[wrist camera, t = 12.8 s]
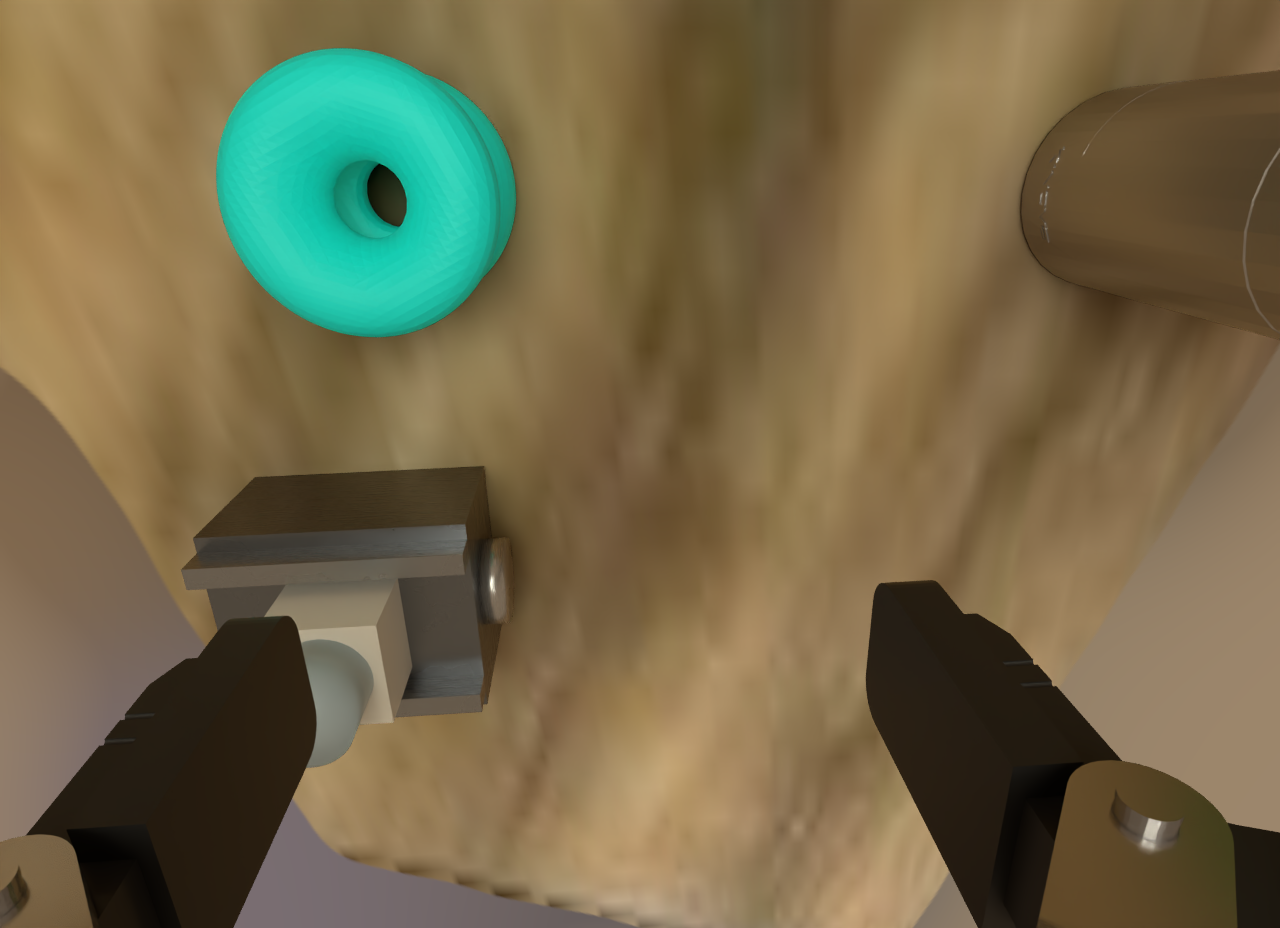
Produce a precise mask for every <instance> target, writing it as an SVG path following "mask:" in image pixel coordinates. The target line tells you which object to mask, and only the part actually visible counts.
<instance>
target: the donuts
mask: <svg viewBox="0 0 1280 928" xmlns="http://www.w3.org/2000/svg"><path fill="white" fill-rule="evenodd" d="M379 163H380V164H382V165H384V166H386V167H388V168H389V169H390V170H391V171H392V172H393V173H395V175H396V176H397V177H398V178H399V180H400V181H401V183H402V185H403V187H404V190H405V193H406V198H407V213H406V215H405V218H404V221H403V223H402V225H401V226H400V227H399V226H393V225H391V224H389V223H387V222H385V221H384V220H382V219H381V218H380V217H379V216H378V215H377V214H376V213H375V211H374V210H373V208H372V206H371V204H370V202H369V199H368V194H367V183H368V179H369V176H370V174H371V172H372V170H373V169H374V168H375V167H376V166H377V165H378V164H379ZM216 183H217V194H218V201H219V206H220V211H221V214H222V218H223V221H224V224H225V227H226V230H227V233H228V235H229V237H230V240H231V242H232V244H233V246H234V248H235V250H236V252H237V253H238V255H239V257H240V258H241V260H242V262H243V263H244V265H245V266H246V268H247V269H248V270H249V272H250V273H251V274H252V276H253V277H254V278H255V279H256V280H257V281H258V283H259V284H260V285H261V286H262V287H263V288H264V289H265V290H266V291H267V292H268V293H269V294H270V295H271V296H272V297H273V298H275V299H276V300H277V301H278V302H280V303H281V304H282V305H283V306H285V307H286V308H288V309H289V310H290V311H292V312H294V313H295V314H297V315H298V316H300V317H302V318H304V319H306V320H308V321H309V322H311V323H314V324H316V325H318V326H321V327H323V328H326V329H329V330H332V331H336V332H339V333H343V334H348V335H355V336H363V337H390V336H397V335H403V334H407V333H411V332H415V331H417V330H420V329H423V328H425V327H428V326H430V325H432V324H434V323H436V322H438V321H439V320H441V319H443V318H444V317H446V316H447V315H449V314H450V313H451V312H453V311H454V310H455V309H456V308H458V307H459V306H460V305H461V304H462V303H463V302H464V301H465V300H466V299H467V298H468V297H469V295H470V294H471V293H472V292H473V291H474V289H475V288H476V287H477V285H478V284H479V282H480V281H481V279H482V278H483V277H484V276H485V275H486V274H487V273H488V272H489V271H490V270H491V268H492V267H493V266H494V265H495V263H496V262H497V260H498V259H499V257H500V256H501V254H502V252H503V250H504V249H505V246H506V244H507V242H508V240H509V237H510V234H511V231H512V227H513V223H514V218H515V211H516V187H515V179H514V173H513V169H512V165H511V162H510V159H509V156H508V153H507V151H506V148H505V146H504V144H503V142H502V140H501V138H500V136H499V134H498V133H497V131H496V129H495V128H494V126H493V125H492V123H491V122H490V121H489V119H488V118H487V117H486V116H485V114H484V113H483V112H482V111H481V110H480V109H479V108H478V107H477V106H476V105H475V104H474V103H473V102H472V101H471V100H470V99H469V98H467V97H466V96H465V95H464V94H462V93H461V92H460V91H458V90H456V89H455V88H453V87H452V86H450V85H448V84H447V83H445V82H443V81H441V80H439V79H436V78H434V77H432V76H429V75H426V74H424V73H422V72H421V71H419V70H417V69H415V68H414V67H412V66H410V65H408V64H406V63H403V62H401V61H399V60H397V59H394V58H391V57H388V56H385V55H382V54H379V53H375V52H371V51H366V50H360V49H349V48H332V49H322V50H317V51H311V52H308V53H304V54H301V55H298V56H295V57H293V58H290V59H288V60H286V61H284V62H282V63H280V64H279V65H277V66H275V67H274V68H272V69H271V70H269V71H268V72H266V73H265V74H264V75H262V76H261V77H260V78H259V79H258V80H256V81H255V82H254V83H253V84H252V85H251V86H250V87H249V88H248V90H247V91H246V92H245V93H244V94H243V96H242V97H241V98H240V100H239V101H238V102H237V104H236V106H235V107H234V109H233V111H232V112H231V114H230V116H229V118H228V121H227V123H226V126H225V128H224V131H223V134H222V137H221V141H220V145H219V150H218V157H217V167H216Z"/></svg>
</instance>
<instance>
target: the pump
mask: <svg viewBox="0 0 1280 928" xmlns="http://www.w3.org/2000/svg"><path fill="white" fill-rule="evenodd" d="M270 616H290V617H291V618H292V619H293V620H294V621H295V623H296V625H297V628H298V632H299V636H300V640H301V645H302V649H303V654H304V658H305V663H306V667H307V672H308V676H309V681H310V685H311V690H312V694H313V699H314V703H315V708H316V716H317V730H316V739H315V744H314V749H313V752H312V755H311V758H310V760H309V762H308V764H307V767H306V768H311V767H319V766H323V765H326V764H329V763H331V762H333V761H335V760H337V759H339V758H340V757H341V756H342V755H344V754H345V753H346V751H347V750H348V749H349V747H350V746H351V744H352V741H353V739H354V736H355V734H356V731H357V729H358V726H359V725H364V724H379V723H394V720H395V717H396V714H397V711H398V708H399V705H400V702H401V699H402V696H403V693H404V690H405V687H406V684H407V681H408V678H409V675H410V672H411V669H412V661H411V655H410V649H409V643H408V637H407V631H406V625H405V619H404V613H403V607H402V601H401V595H400V589H399V583H398V578H396V579H377V580H359V581H341V582H323V583H305V584H286V586H285V587H284V589H283V590H282V591H281V593H280V594H279V596H278V597H277V599H276V600H275V602H274V603H273V604H272V606H271V607H270V609H269V610H268V612H267V613H266V615H265V616H264V617H270Z"/></svg>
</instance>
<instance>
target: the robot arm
mask: <svg viewBox="0 0 1280 928" xmlns="http://www.w3.org/2000/svg"><path fill="white" fill-rule="evenodd" d="M1021 216H1022V223H1023V229H1024V234H1025V237H1026V239H1027V242H1028V244H1029V247H1030V249H1031V251H1032V253H1033V254H1034V255H1035V257H1036V258H1037V259H1038V261H1039V262H1040V264H1041V265H1042V266H1044V267H1045V268H1046V269H1047V270H1048V271H1050V272H1051V273H1052V274H1053V275H1055V276H1057V277H1059V278H1061V279H1063V280H1066V281H1068V282H1070V283H1074V284H1077V285H1081V286H1085V287H1088V288H1092V289H1096V290H1099V291H1103V292H1107V293H1110V294H1114V295H1117V296H1120V297H1124V298H1128V299H1131V300H1135V301H1139V302H1142V303H1146V304H1150V305H1153V306H1157V307H1161V308H1164V309H1168V310H1172V311H1175V312H1179V313H1183V314H1187V315H1190V316H1194V317H1198V318H1201V319H1205V320H1209V321H1212V322H1216V323H1220V324H1223V325H1227V326H1231V327H1234V328H1238V329H1242V330H1245V331H1249V332H1253V333H1257V334H1260V335H1264V336H1268V337H1271V338H1275V339H1279V340H1280V70H1278V71H1269V72H1260V73H1251V74H1243V75H1234V76H1225V77H1217V78H1208V79H1199V80H1189V81H1178V82H1170V83H1161V84H1153V85H1144V86H1136V87H1127V88H1121V89H1117V90H1113V91H1109V92H1105V93H1102V94H1100V95H1098V96H1096V97H1094V98H1092V99H1090V100H1088V101H1086V102H1084V103H1082V104H1081V105H1079V106H1078V107H1077V108H1075V109H1074V110H1073V111H1071V112H1070V113H1069V114H1067V115H1066V116H1065V117H1064V118H1063V119H1062V120H1061V121H1060V122H1059V123H1058V124H1057V125H1056V126H1055V127H1054V128H1053V129H1052V131H1051V132H1050V133H1049V134H1048V136H1047V137H1046V139H1045V140H1044V142H1043V143H1042V145H1041V146H1040V148H1039V149H1038V151H1037V152H1036V154H1035V157H1034V159H1033V161H1032V163H1031V166H1030V168H1029V170H1028V172H1027V176H1026V180H1025V184H1024V188H1023V193H1022V208H1021ZM866 691H867V698H868V704H869V708H870V711H871V715H872V718H873V720H874V722H875V724H876V726H877V728H878V730H879V732H880V734H881V736H882V738H883V740H884V742H885V744H886V746H887V748H888V750H889V752H890V754H891V756H892V758H893V760H894V762H895V764H896V766H897V768H898V770H899V772H900V774H901V776H902V778H903V780H904V782H905V784H906V786H907V788H908V790H909V792H910V794H911V796H912V798H913V800H914V802H915V804H916V806H917V808H918V810H919V812H920V814H921V816H922V818H923V820H924V822H925V824H926V826H927V827H928V829H929V831H930V833H931V835H932V837H933V839H934V841H935V843H936V845H937V847H938V849H939V851H940V853H941V855H942V857H943V859H944V861H945V863H946V865H947V867H948V869H949V871H950V873H951V875H952V877H953V879H954V881H955V883H956V885H957V887H958V889H959V891H960V893H961V895H962V897H963V899H964V901H965V903H966V905H967V907H968V909H969V911H970V913H971V915H972V916H973V919H974V921H975V923H976V925H977V927H978V928H1280V833H1279V832H1273V831H1268V830H1262V829H1256V828H1251V827H1245V826H1239V825H1235V824H1230V823H1227V822H1226V820H1225V819H1224V817H1223V816H1222V814H1221V813H1220V812H1219V811H1218V810H1217V809H1216V808H1215V807H1214V805H1213V804H1211V803H1210V802H1209V801H1208V800H1207V799H1206V798H1205V797H1204V796H1202V795H1201V794H1200V793H1198V792H1197V791H1196V790H1194V789H1193V788H1191V787H1190V786H1188V785H1187V784H1185V783H1183V782H1181V781H1179V780H1178V779H1176V778H1174V777H1172V776H1170V775H1168V774H1166V773H1163V772H1161V771H1158V770H1155V769H1152V768H1150V767H1147V766H1143V765H1140V764H1136V763H1130V762H1125V761H1122V760H1121V759H1120V758H1119V757H1118V756H1117V755H1116V753H1115V752H1114V751H1113V750H1112V749H1111V748H1110V747H1109V746H1108V745H1107V743H1106V742H1105V741H1104V740H1103V739H1102V738H1101V737H1100V735H1099V734H1098V733H1097V732H1096V731H1095V730H1094V728H1093V727H1092V726H1091V725H1090V724H1089V723H1088V722H1087V721H1086V719H1085V718H1084V717H1083V716H1082V715H1081V714H1080V713H1079V711H1078V710H1077V709H1076V708H1075V707H1074V706H1073V705H1072V703H1071V702H1070V701H1069V700H1068V699H1067V698H1066V697H1065V695H1063V693H1062V692H1061V691H1060V690H1059V689H1058V687H1057V686H1054V687H1053V686H1052V681H1051V679H1050V678H1049V677H1048V676H1047V675H1046V674H1045V673H1044V672H1043V670H1042V669H1041V668H1040V667H1039V666H1038V665H1034V664H1033V659H1032V658H1031V657H1030V656H1029V654H1028V653H1027V652H1026V651H1025V650H1024V649H1023V648H1022V646H1021V645H1020V644H1019V643H1018V642H1017V641H1016V640H1015V639H1014V637H1013V636H1012V635H1011V634H1010V633H1008V632H1006V631H1005V630H1003V629H1001V628H1000V627H998V626H996V625H995V624H993V623H992V622H990V621H988V620H987V619H985V618H983V617H982V616H980V615H979V614H963V613H962V611H961V610H960V609H959V608H958V606H957V605H956V604H955V603H954V602H953V600H952V599H951V598H950V597H949V595H948V594H947V593H946V592H945V591H944V589H943V588H942V587H941V586H940V585H939V584H938V583H937V582H936V581H933V580H927V581H909V582H892V583H880V584H879V585H878V586H877V588H876V590H875V593H874V599H873V608H872V618H871V629H870V639H869V649H868V659H867V670H866ZM316 730H317V716H316V708H315V703H314V699H313V694H312V690H311V685H310V681H309V676H308V672H307V667H306V663H305V658H304V654H303V649H302V645H301V640H300V636H299V632H298V628H297V625H296V623H295V621H294V620H293V619H292V618H291V617H290V616H270V617H252V618H235V619H229V620H228V621H226V622H225V623H224V624H223V625H222V627H221V628H220V629H219V631H218V632H217V633H216V635H215V636H214V637H213V638H212V640H211V641H210V642H209V644H208V645H207V646H206V648H205V649H204V650H203V651H202V653H201V654H200V656H199V657H198V658H192V659H185V660H184V661H182V662H181V663H179V664H178V665H176V666H175V667H174V668H172V669H171V670H169V671H168V672H167V673H165V674H164V675H162V676H161V677H160V678H158V679H157V680H155V681H154V682H152V683H151V684H150V685H149V686H148V687H147V688H146V689H145V691H144V692H143V693H142V694H141V695H140V697H139V698H138V699H137V700H136V702H135V703H134V704H133V705H132V707H131V708H130V709H129V710H128V711H127V713H126V714H125V720H120V721H119V722H118V723H117V725H116V726H115V727H114V728H113V730H112V731H111V732H110V733H109V735H108V736H107V737H106V738H105V744H104V745H103V746H99V747H98V748H97V749H96V750H95V752H94V753H93V754H92V756H90V758H89V759H88V760H87V761H86V763H85V764H84V765H83V766H82V767H81V769H80V770H79V771H78V772H77V774H76V775H75V776H74V777H73V778H72V780H71V781H70V782H69V783H68V785H67V786H66V787H65V788H64V789H63V791H62V792H61V793H60V794H59V796H58V797H57V798H56V799H55V801H54V802H53V803H52V804H51V806H50V807H49V808H48V809H47V810H46V811H45V813H44V814H43V815H42V816H41V817H40V819H39V820H38V821H37V822H36V824H35V825H34V826H33V827H32V828H31V830H30V831H29V832H28V833H27V835H26V836H22V837H17V838H12V839H9V840H5V841H3V842H0V928H233V927H234V925H235V923H236V921H237V919H238V916H239V914H240V912H241V910H242V908H243V905H244V903H245V901H246V898H247V896H248V894H249V892H250V890H251V888H252V886H253V883H254V881H255V879H256V877H257V874H258V872H259V870H260V868H261V866H262V863H263V861H264V859H265V857H266V855H267V852H268V850H269V848H270V846H271V844H272V841H273V839H274V837H275V835H276V833H277V830H278V828H279V826H280V824H281V822H282V819H283V817H284V815H285V813H286V811H287V808H288V806H289V804H290V802H291V800H292V797H293V795H294V793H295V791H296V789H297V786H298V784H299V782H300V780H301V778H302V775H303V773H304V771H305V769H306V767H307V764H308V762H309V760H310V758H311V755H312V752H313V749H314V744H315V739H316Z"/></svg>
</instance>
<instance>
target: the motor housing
mask: <svg viewBox="0 0 1280 928" xmlns="http://www.w3.org/2000/svg"><path fill="white" fill-rule="evenodd" d="M193 540H194V543H195V547H196V551H197V554H196V555H195V556H194V557H193V558H192V559H191V560H190V561H189V562H188V563H187V564H186V565H185V566H184V567H183V568H182V569H181V571H182V575H183V579H184V582H185V586H186V589H187V590H196V589H207V592H208V596H209V599H210V603H211V607H212V611H213V614H214V618H215V622H216V625H217V629H218V631H219V629H220V628H221V627H222V625H223V624H224V623H225V622H226V621H228V620H229V619H235V618H252V617H264V616H265V615H266V613H267V612H268V610H269V609H270V607H271V606H272V604H273V603H274V602H275V600H276V599H277V597H278V596H279V594H280V593H281V591H282V590H283V589H284V587H285V586H286V584H305V583H323V582H341V581H359V580H377V579H396V578H398V583H399V589H400V595H401V601H402V607H403V613H404V619H405V625H406V631H407V637H408V643H409V649H410V655H411V661H412V669H411V672H410V675H409V678H408V681H407V684H406V687H405V690H404V693H403V696H402V699H401V702H400V705H399V708H398V711H397V714H396V717H408V716H424V715H440V714H455V713H471V712H482V709H483V704H487V703H488V697H489V692H490V686H491V680H492V675H493V669H494V664H495V658H496V653H497V647H498V641H499V636H500V630H501V624H502V623H511V621H512V617H513V608H514V571H513V558H512V550H511V545H510V541H509V538H508V537H505V538H492V535H491V526H490V517H489V508H488V498H487V489H486V480H485V471H484V466H482V467H461V468H440V469H420V470H399V471H378V472H358V473H337V474H316V475H296V476H275V477H255V478H254V479H253V480H252V481H251V482H250V483H249V484H248V485H247V486H246V487H245V488H244V489H243V490H242V491H241V492H240V493H239V494H238V495H237V496H236V497H235V498H234V499H232V500H231V501H230V502H229V503H228V504H227V505H226V506H225V507H224V508H223V509H222V510H221V511H220V512H219V513H218V514H217V515H216V516H215V517H214V518H213V519H212V520H211V521H210V522H209V523H208V524H207V525H206V526H205V527H204V528H203V529H202V530H201V531H200V532H199V533H198V534H197V535H196V536H195V537H194V538H193Z"/></svg>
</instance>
